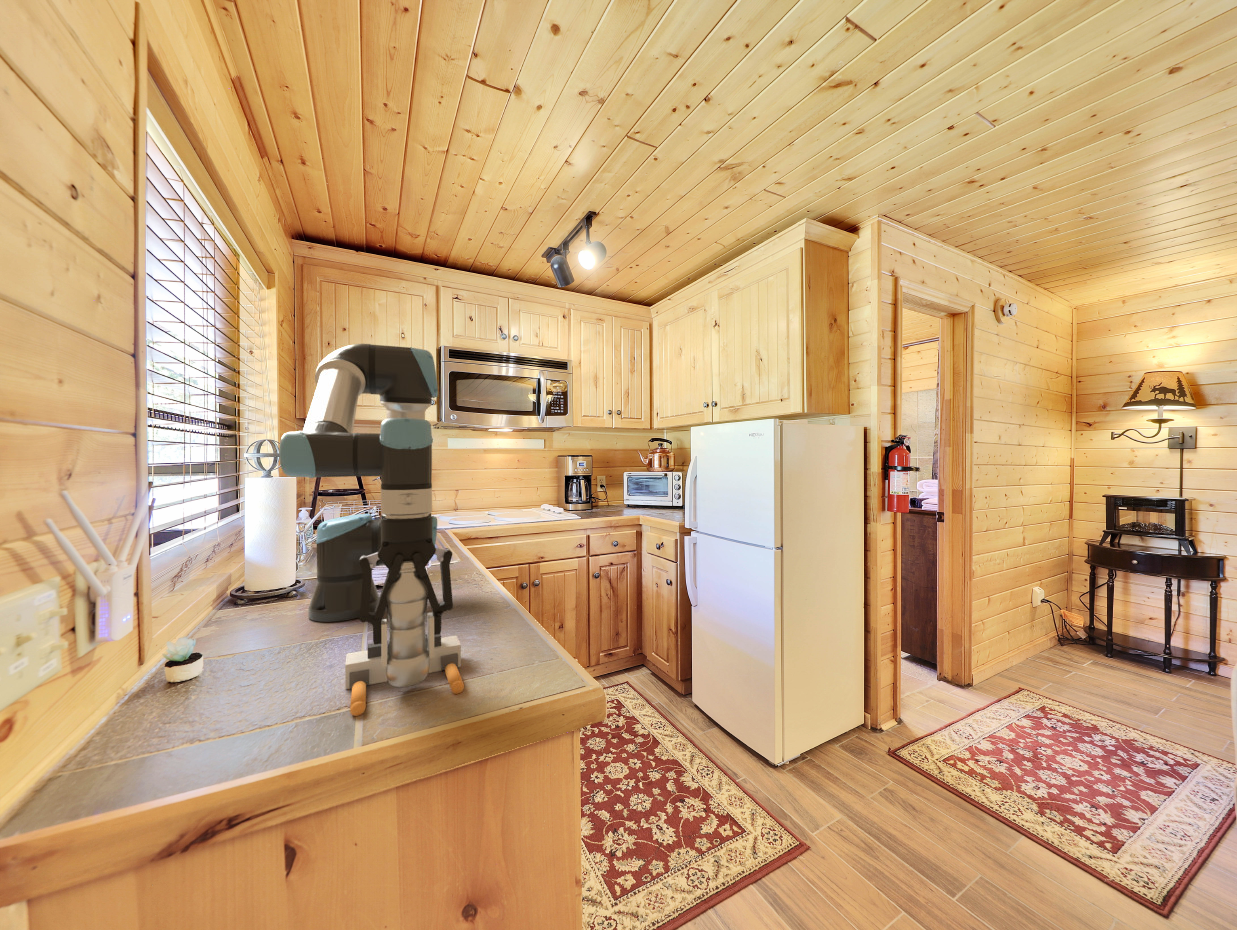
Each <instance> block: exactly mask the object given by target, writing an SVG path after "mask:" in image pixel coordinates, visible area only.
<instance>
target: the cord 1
mask: <svg viewBox="0 0 1237 930" xmlns="http://www.w3.org/2000/svg"><path fill="white" fill-rule="evenodd" d="M366 697H367V685H366V684H365V682H363V681H358V682H356V683H355V684H354V685H353V687H352V688H351V696H350V706H349V709H350V710H349V712H350V714H351V715H352V716H354V717H358V716H361V715H363V714H364V712H365V710H366V705H367V703H366V702H367V698H366Z"/></svg>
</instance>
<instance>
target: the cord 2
mask: <svg viewBox="0 0 1237 930" xmlns="http://www.w3.org/2000/svg"><path fill="white" fill-rule="evenodd" d="M444 673H445V676H446V679H447V681H448V685H449V688H450V690H451V693H452V694H454V695H459V694H461V693H462V692H463V691H464V687H465V684H464V682H463V679H462V676H461V674H460V672H459V669H458V667H457V666H456V665H455V664H452V663H451V664H448V665H447V666H446V668H445V670H444Z"/></svg>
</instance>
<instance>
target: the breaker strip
mask: <svg viewBox="0 0 1237 930" xmlns="http://www.w3.org/2000/svg"><path fill="white" fill-rule="evenodd" d="M426 642H427V650H428V633H426ZM388 652H389V640H387V658H388ZM345 658H346V659H345V664H344V666H345V667H344V668H345V669H344V672H345V673H344V674H345V675H344V677H345V682H344V683H345V687H344V688H345V690H349V689H352V687H353V685H354V684H355V683H356V682H358V681H363V682H365V684H366V686H370V685H375V684H379V683H384V682H388V680H387V676H386V666H383V667H382V662H381V644H376V645H374V643H373V642H371V643H367V650H359V651H354V652H348V653H346V657H345ZM429 659H430V667H429V672H428V674H431V673H436V672H441V671H445V668H446V666H447V665H448V664H451V663H452V664H455V665H456V666H457V668H461V667H462V646H461V642H460V640H459V638H458V636H457V635H451V636H445V637H442V635H441V633H440V634H437V635H434V657H432V658H429Z"/></svg>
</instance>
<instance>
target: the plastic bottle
mask: <svg viewBox="0 0 1237 930" xmlns="http://www.w3.org/2000/svg"><path fill="white" fill-rule="evenodd" d="M416 571H418V570H417V568H416V565H415V562H414V560H412V561H403V562H402V564H401V567H400V570H399V573H398V576H397V579H396V581H395V582H394V583H393V584H392V585H391V587H390V588H389V590H388V593H387V596H386V598H387V602H388V604H387V607H386V611H387V616H388V617H387V618H388V628H389V638H388V639H389V640H388V641H389V652H388V658H387V666H386V676H387V680H388V681H387V682H388V683H389V684H390V685H391V686H392V687H396V688H407V687H411V686H415V685H418V684H420V683H422V682H423V681H424V680H425V679H426V677H427V676H428V675H429V673H428V672H429V667H430V659H429V654H428V650H427V642H426V634H427V632H426V621H427V607H428V602H429V600H428V597H427V596H428V590H427V588H426V585H425V584H424V583H423V581H422V580H421V578H420V576H419V573H416Z"/></svg>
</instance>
